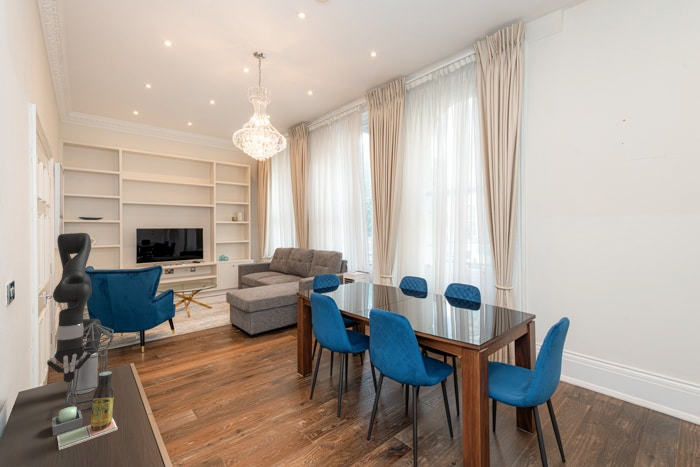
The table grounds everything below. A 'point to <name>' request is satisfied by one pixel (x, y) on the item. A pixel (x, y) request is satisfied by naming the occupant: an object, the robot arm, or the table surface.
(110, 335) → the geometric lantern
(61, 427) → the button housing
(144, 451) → the table surface
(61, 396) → the table surface
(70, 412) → the button
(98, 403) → the sauce bottle
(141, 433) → the table surface
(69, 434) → the colouring card
